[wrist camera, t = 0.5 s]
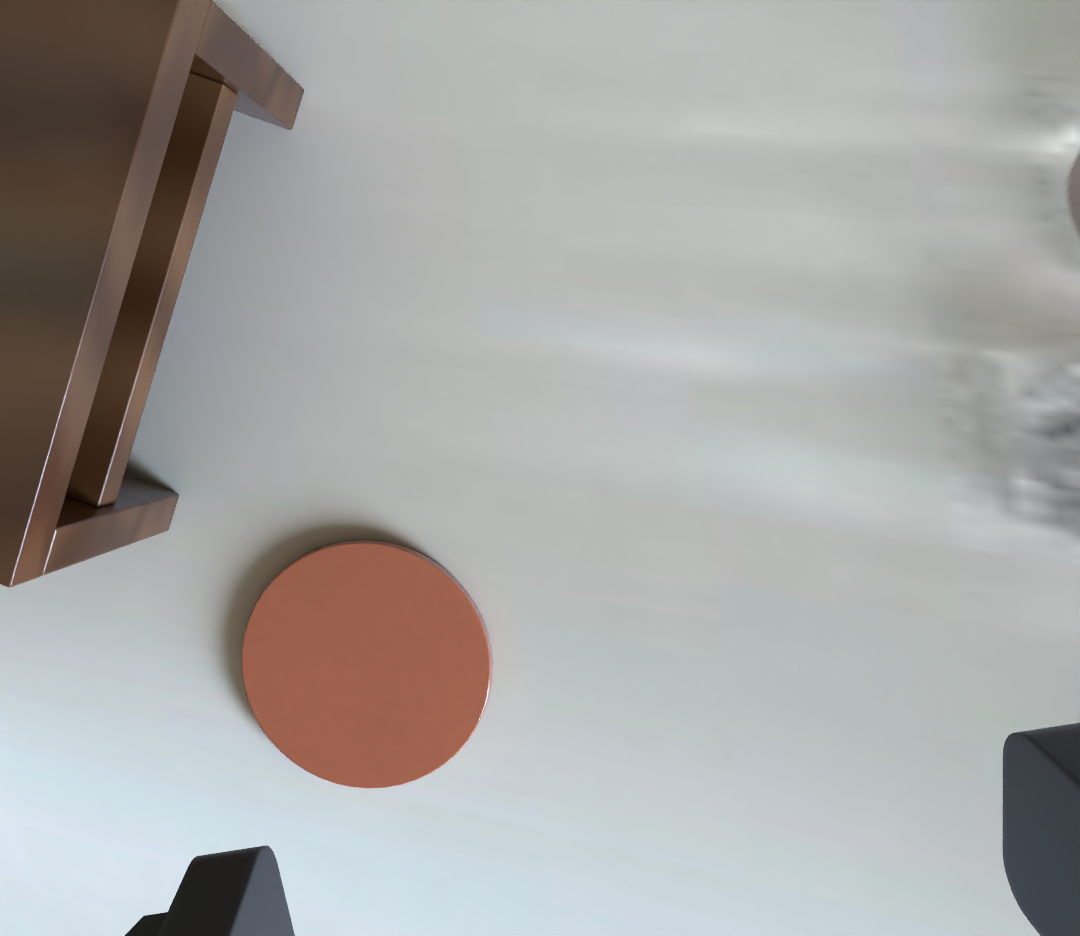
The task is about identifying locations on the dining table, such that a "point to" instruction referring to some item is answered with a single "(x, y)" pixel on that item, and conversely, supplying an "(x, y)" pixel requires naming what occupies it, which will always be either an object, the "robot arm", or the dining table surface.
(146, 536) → the shelf
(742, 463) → the dining table surface
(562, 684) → the dining table surface
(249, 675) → the coaster
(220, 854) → the robot arm
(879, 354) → the dining table surface
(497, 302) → the dining table surface
